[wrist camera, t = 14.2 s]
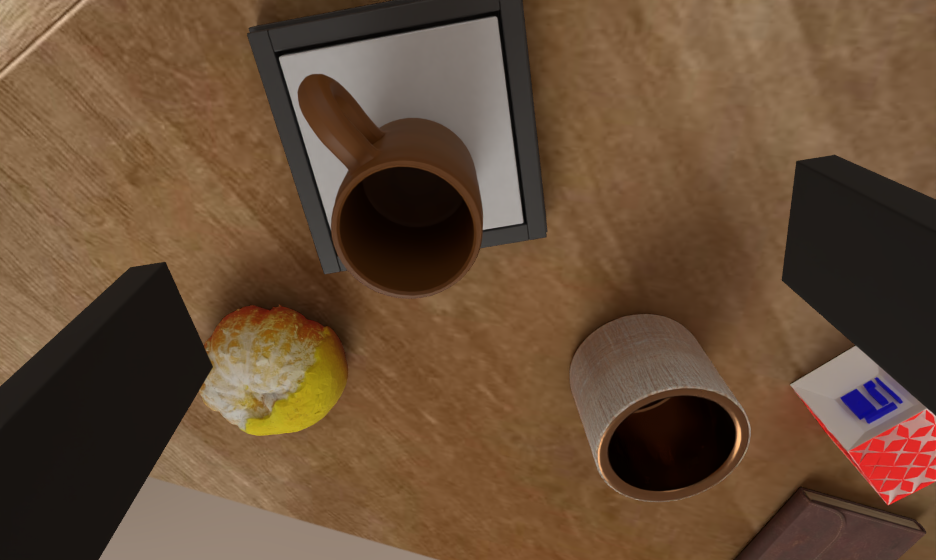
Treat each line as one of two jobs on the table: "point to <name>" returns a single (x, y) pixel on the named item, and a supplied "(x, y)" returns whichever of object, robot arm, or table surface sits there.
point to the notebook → (832, 531)
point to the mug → (397, 195)
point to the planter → (656, 409)
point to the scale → (411, 8)
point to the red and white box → (873, 423)
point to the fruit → (273, 370)
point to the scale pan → (423, 100)
